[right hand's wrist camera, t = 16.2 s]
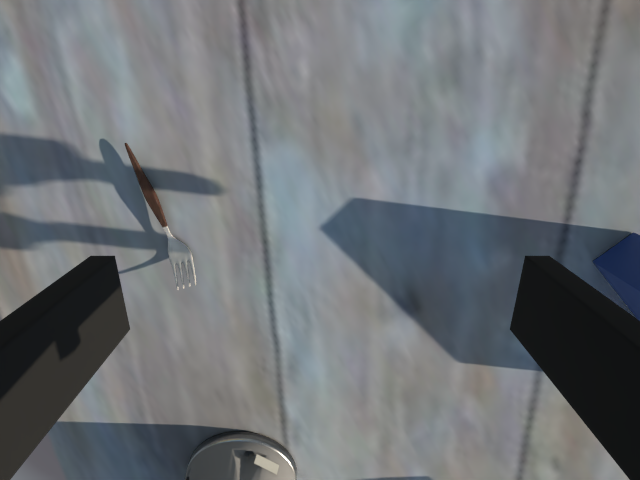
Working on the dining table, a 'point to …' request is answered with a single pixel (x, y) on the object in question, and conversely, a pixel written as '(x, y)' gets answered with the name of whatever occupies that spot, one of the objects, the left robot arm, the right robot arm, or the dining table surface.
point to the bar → (623, 270)
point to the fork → (164, 224)
